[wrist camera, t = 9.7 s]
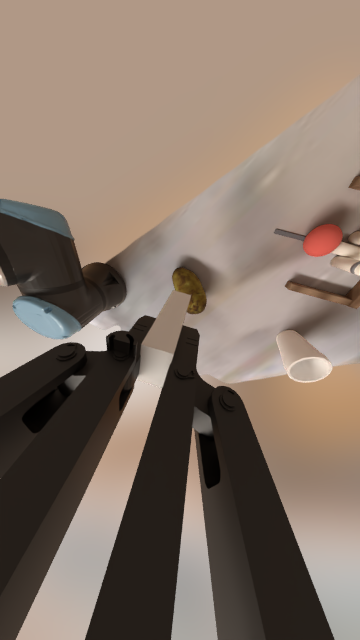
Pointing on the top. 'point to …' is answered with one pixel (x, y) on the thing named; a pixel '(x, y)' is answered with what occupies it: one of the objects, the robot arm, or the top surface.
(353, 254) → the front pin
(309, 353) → the foam cup
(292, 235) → the thin gray bar
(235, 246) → the top surface
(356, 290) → the rail
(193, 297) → the potato
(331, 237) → the ball
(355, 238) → the pin
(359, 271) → the pin
